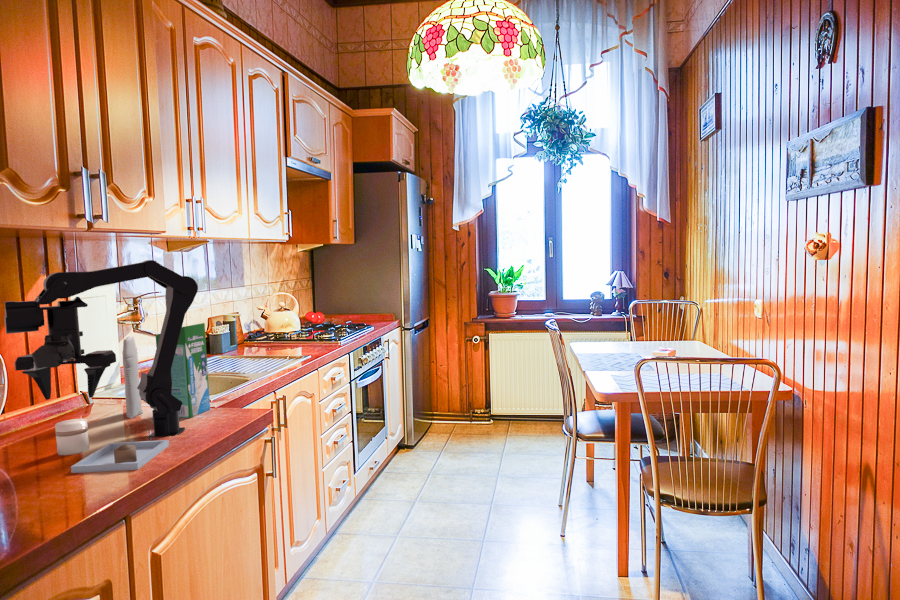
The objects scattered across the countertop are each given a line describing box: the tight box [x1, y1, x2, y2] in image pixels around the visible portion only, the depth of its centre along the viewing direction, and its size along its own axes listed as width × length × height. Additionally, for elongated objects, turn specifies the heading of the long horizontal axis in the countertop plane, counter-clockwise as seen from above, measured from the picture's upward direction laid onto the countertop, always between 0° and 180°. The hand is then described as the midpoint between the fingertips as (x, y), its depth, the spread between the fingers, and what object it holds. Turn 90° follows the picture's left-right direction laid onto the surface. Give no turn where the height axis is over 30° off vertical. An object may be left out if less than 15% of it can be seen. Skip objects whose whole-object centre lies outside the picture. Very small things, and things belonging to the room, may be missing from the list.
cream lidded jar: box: [54, 418, 90, 456], centre depth 131 cm, size 6×6×7 cm
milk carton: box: [155, 322, 211, 419], centre depth 162 cm, size 9×9×25 cm
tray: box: [70, 439, 170, 474], centre depth 125 cm, size 15×13×2 cm
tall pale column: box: [122, 336, 144, 420], centre depth 163 cm, size 11×4×22 cm, turn 16°
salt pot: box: [114, 444, 137, 463], centre depth 121 cm, size 4×4×4 cm
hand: (69, 398), depth 130 cm, fingers open, 9 cm apart
